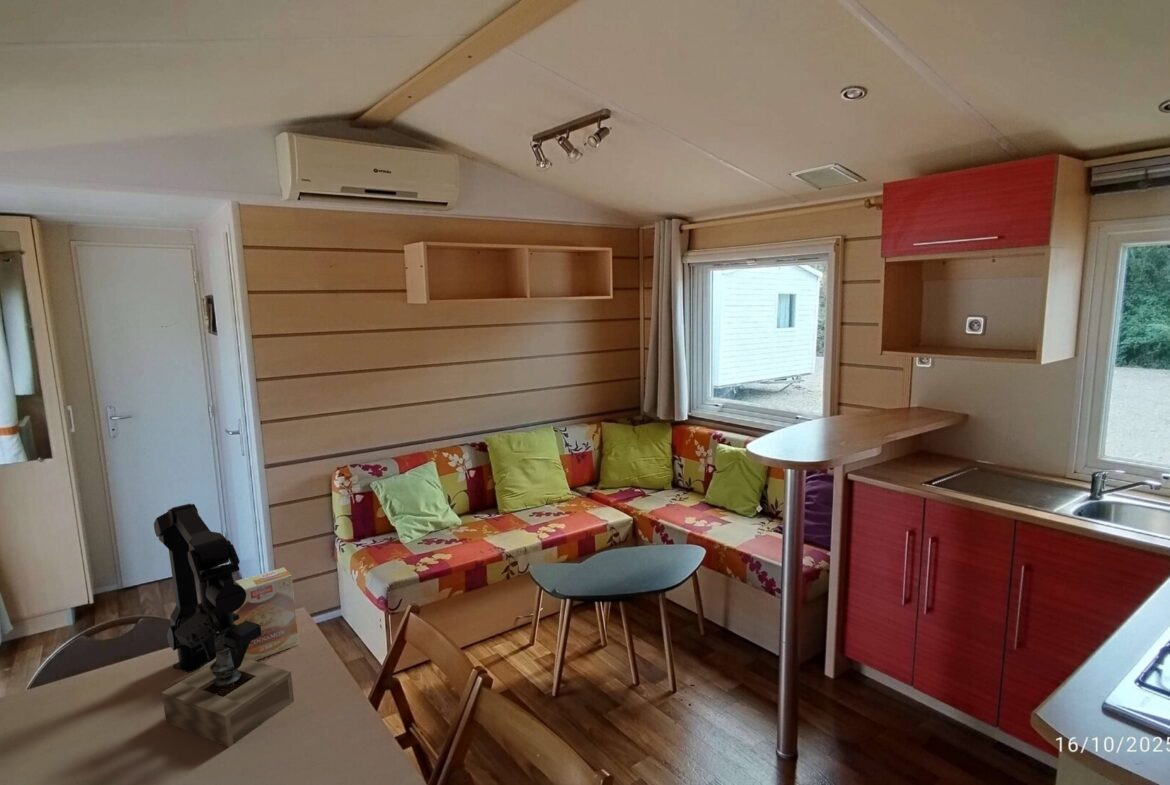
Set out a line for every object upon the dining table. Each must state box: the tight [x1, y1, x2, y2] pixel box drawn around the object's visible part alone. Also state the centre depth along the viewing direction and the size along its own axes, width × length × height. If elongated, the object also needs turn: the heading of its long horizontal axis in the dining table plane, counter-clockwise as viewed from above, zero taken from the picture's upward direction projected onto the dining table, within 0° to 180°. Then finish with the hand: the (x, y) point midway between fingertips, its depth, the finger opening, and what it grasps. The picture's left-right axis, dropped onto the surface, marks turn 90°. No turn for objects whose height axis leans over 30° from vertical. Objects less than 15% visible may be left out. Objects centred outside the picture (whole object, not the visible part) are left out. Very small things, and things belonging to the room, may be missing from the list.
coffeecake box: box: [234, 567, 300, 661], centre depth 163 cm, size 15×7×20 cm, turn 131°
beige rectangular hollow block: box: [161, 658, 295, 748], centre depth 140 cm, size 20×16×7 cm
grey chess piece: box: [210, 632, 241, 686], centre depth 138 cm, size 6×6×12 cm
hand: (225, 663), depth 139 cm, fingers closed on grey chess piece, 7 cm apart
